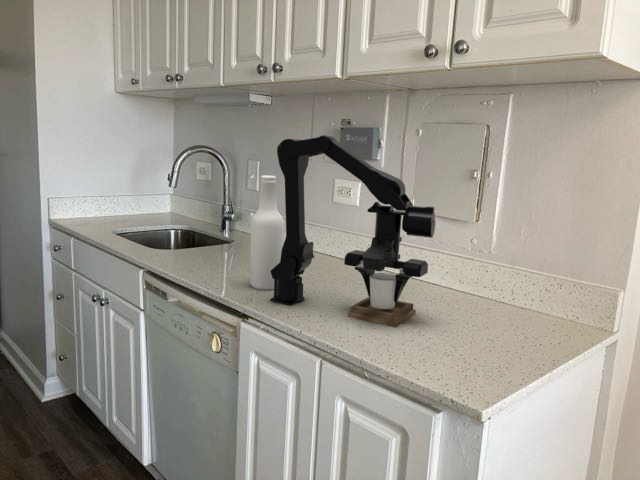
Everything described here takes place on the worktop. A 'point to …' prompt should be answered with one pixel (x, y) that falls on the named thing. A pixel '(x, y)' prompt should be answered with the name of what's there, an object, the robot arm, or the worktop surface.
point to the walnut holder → (382, 313)
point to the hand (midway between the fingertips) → (382, 299)
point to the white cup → (382, 290)
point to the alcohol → (266, 236)
